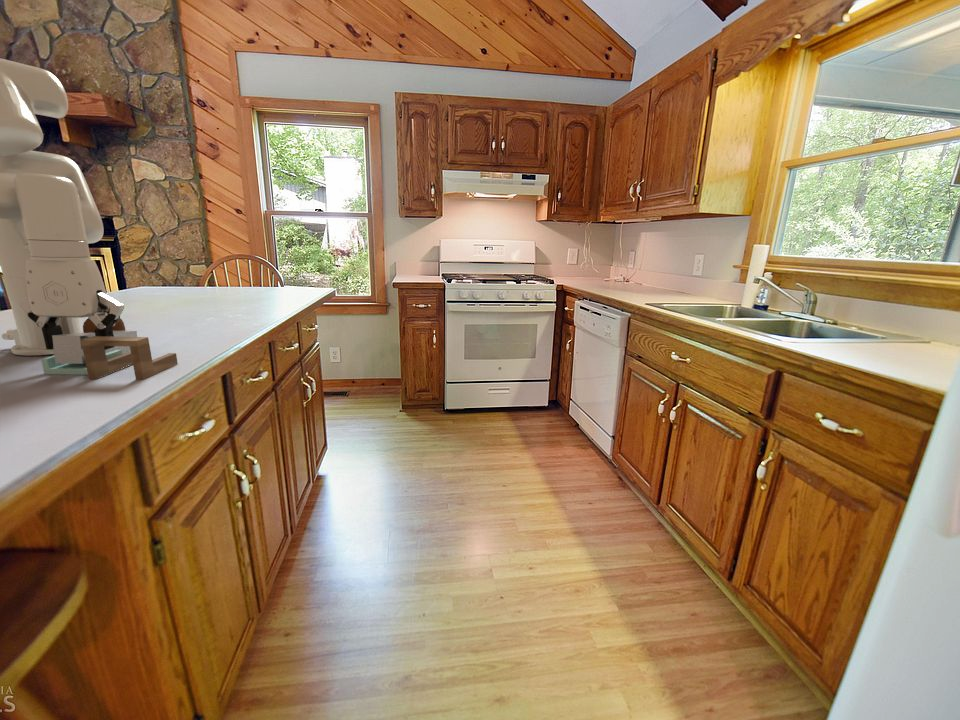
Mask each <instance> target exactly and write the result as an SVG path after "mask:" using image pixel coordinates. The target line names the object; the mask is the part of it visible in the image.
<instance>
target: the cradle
mask: <svg viewBox="0 0 960 720" xmlns="http://www.w3.org/2000/svg"><path fill="white" fill-rule="evenodd" d="M105 354H106V359H107V360H108V359H111V358H113V357H116V356H119V355H122V350H115V351H112V352H109V353H105ZM40 361H41V365H42V368H43V373H44V374H45V375H88V372H87V368H86V363H84V364H69V363H55V357H54V354H52V355H51V356H50V355H49V356H46V357H44V358H43V357H42V358H40Z"/></svg>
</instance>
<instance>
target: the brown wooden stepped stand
mask: <svg viewBox="0 0 960 720" xmlns="http://www.w3.org/2000/svg"><path fill="white" fill-rule="evenodd" d="M81 345H82V349H83V354H84V358H85V363H86V368H87V372H88V374H87V377H88V379H89V380H98V379H100V378H102V377H101V376H103V377H104V375H106V374H108V375H110V374H109V373H111V372H113V371H116V370H118V369H121V368H123V367H126V366H128V365H131V364H133V365H131V366H132V367H133V371H134V376H135V380H146V379H147V377H148V378H150V377H152V376H154V375H156V374H159V373H160V372H163V371H166V370H168V369H170V368H172V367H174V366H177V365H178V364H179V363H178V357H177V353H176V352H173V353H172V352H170V353H166V354H163V355H162V356H159V357H156V358H154V359H153V357H152V351H151V346H150V340H149V337H148V336H137V337H110V336H93V337H90V338H86V339H82V340H81ZM104 346H130V350H131V353H125V354H122V355H119V356H116V357H113V358H111V359H108V360H107V359H106V354H105V349H104ZM126 368H127V367H126ZM123 369H124V368H123ZM121 370H122V369H121ZM118 371H119V370H118ZM116 372H117V371H116ZM113 373H114V372H113ZM111 374H112V373H111ZM106 376H107V375H106ZM99 377H100V378H99ZM97 378H98V379H97ZM145 378H146V379H145Z"/></svg>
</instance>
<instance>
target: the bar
mask: <svg viewBox="0 0 960 720" xmlns="http://www.w3.org/2000/svg"><path fill="white" fill-rule="evenodd" d="M113 335H114V337H138V331H137V330H126V331H115V330H113ZM93 336H95V332H89V333H83V332H81V333H76V334H64V335H52V338H53V347H54V354H53V355H54V357H55V363H69V364H84V363H85V358H84V354H83V349H82V345H81V340H82V339H86V338H90V337H93ZM115 350H122V354H125V353H131V350H130V346H115V347H113V348H110V349H107V350H105V353H109V352H112V351H115Z"/></svg>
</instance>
